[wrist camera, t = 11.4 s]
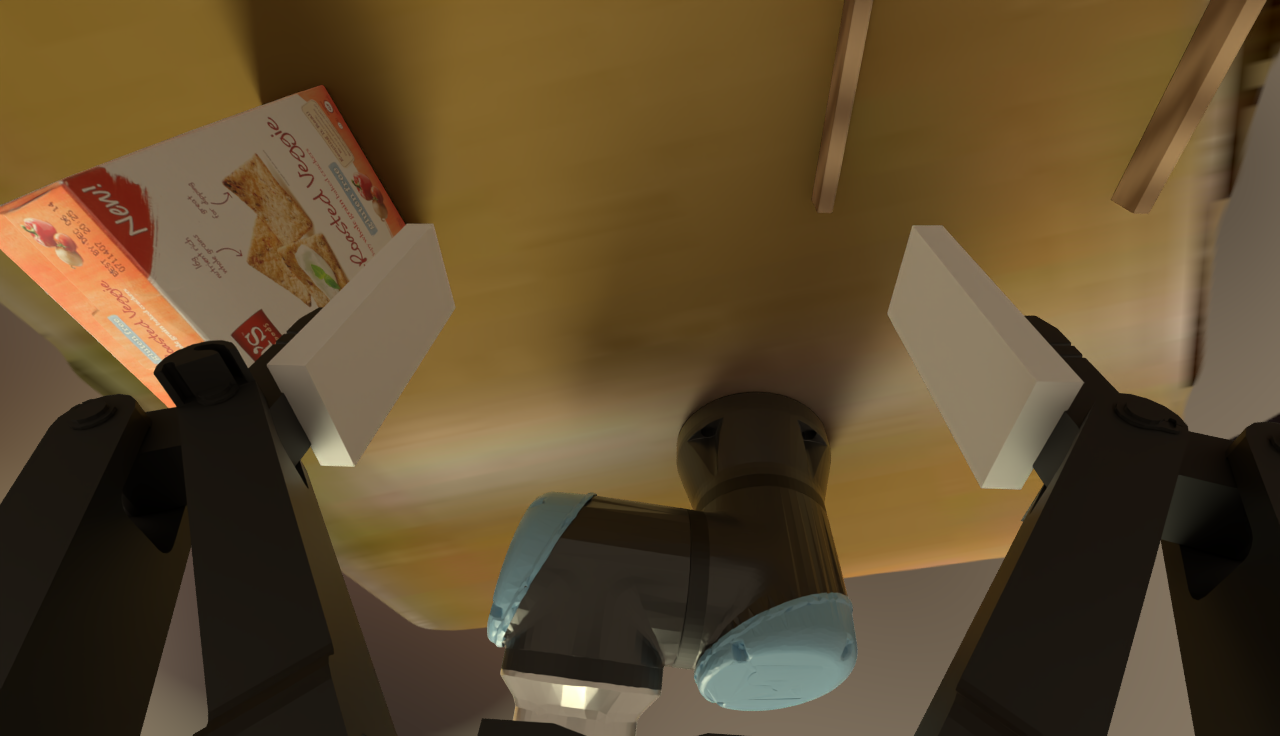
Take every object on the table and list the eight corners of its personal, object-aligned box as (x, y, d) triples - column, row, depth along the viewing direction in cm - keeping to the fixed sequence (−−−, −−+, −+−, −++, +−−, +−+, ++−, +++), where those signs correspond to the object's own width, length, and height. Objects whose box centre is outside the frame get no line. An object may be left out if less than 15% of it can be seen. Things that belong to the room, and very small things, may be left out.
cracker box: (432, 257, 46) (290, 432, 30) (371, 274, 48) (203, 452, 31) (328, 77, 38) (54, 180, 22) (258, 105, 40) (-48, 221, 23)
